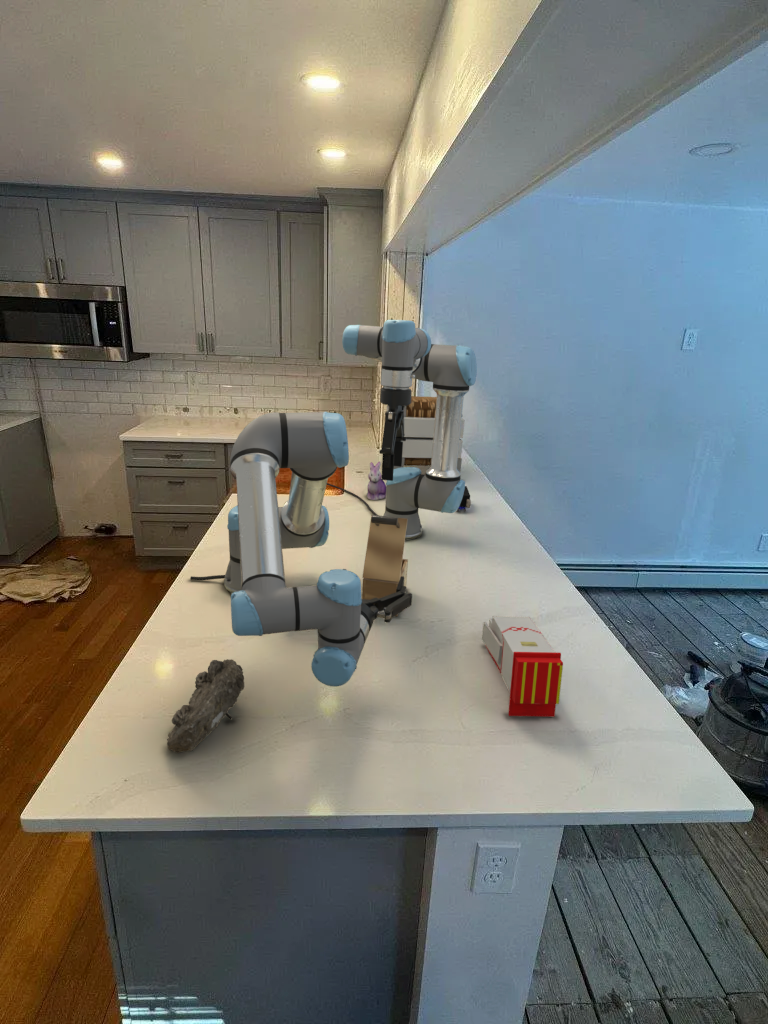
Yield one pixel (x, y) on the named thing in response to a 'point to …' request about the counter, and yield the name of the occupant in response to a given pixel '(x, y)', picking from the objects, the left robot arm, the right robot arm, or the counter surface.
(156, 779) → the counter surface
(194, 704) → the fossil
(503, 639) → the toy
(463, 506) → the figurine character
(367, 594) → the chest
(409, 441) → the grey boxy piece
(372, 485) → the figurine
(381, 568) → the lid
